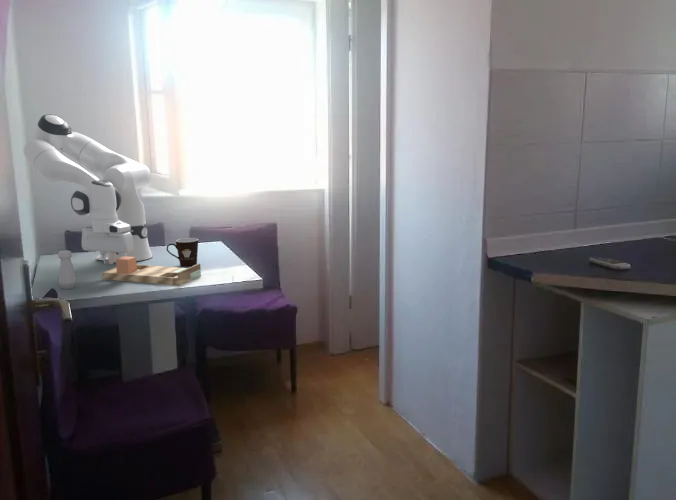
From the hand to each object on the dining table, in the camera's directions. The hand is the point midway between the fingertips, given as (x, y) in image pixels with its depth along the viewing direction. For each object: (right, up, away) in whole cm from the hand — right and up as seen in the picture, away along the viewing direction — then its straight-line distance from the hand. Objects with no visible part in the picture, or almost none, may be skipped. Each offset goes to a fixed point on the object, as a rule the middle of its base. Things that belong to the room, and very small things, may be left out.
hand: (108, 263), depth 231 cm
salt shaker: (-9, -8, -13) cm, 18 cm away
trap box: (+16, -5, 0) cm, 17 cm away
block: (+7, -3, -1) cm, 8 cm away
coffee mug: (+23, -1, +19) cm, 30 cm away
